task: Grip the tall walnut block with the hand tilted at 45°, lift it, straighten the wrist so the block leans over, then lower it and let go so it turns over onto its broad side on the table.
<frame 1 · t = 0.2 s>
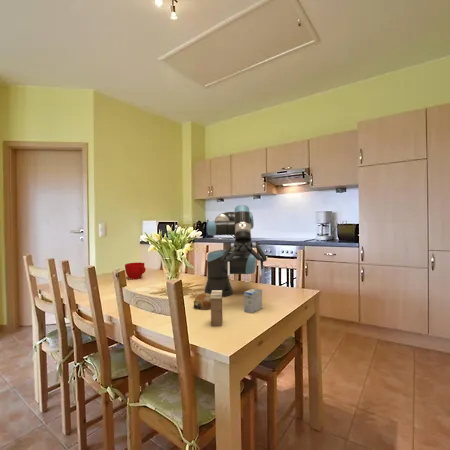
hand: (244, 276, 117), 15 cm above the table, tool tilted 35°, fingers open, 13 cm apart
bread roll: (204, 307, 125), on the table
medicine box: (253, 310, 120), on the table
ceramic cup: (137, 278, 188), on the table
walnut block: (217, 323, 105), on the table
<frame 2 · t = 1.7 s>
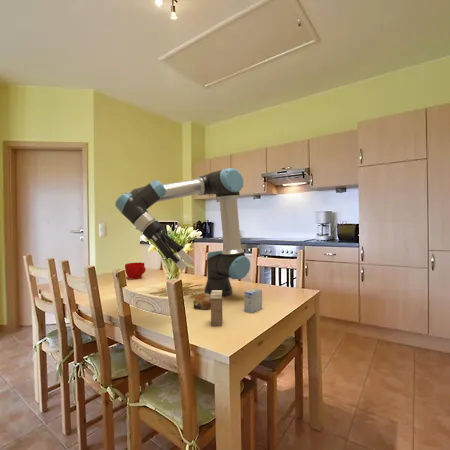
hand: (188, 265, 105), 23 cm above the table, tool tilted 45°, fingers open, 13 cm apart
nothing on the table moved.
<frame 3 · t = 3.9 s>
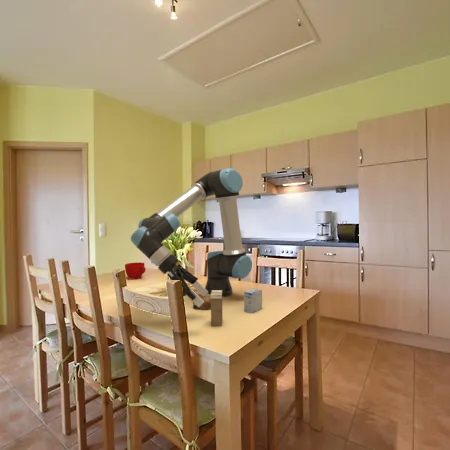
hand: (203, 299, 104), 10 cm above the table, tool tilted 45°, fingers open, 13 cm apart
nothing on the table moved.
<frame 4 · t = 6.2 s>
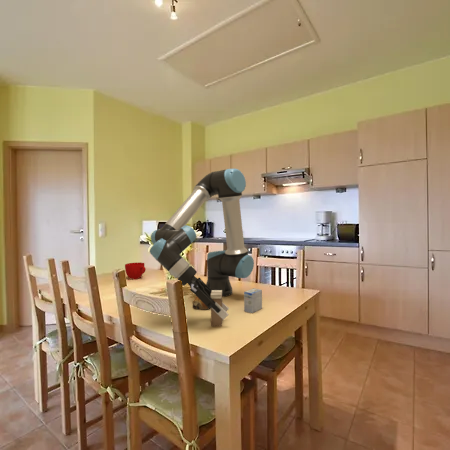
hand: (226, 313, 105), 4 cm above the table, tool tilted 45°, fingers closed on walnut block, 6 cm apart
walnut block: (217, 323, 105), on the table, touching gripper
everything else where it was.
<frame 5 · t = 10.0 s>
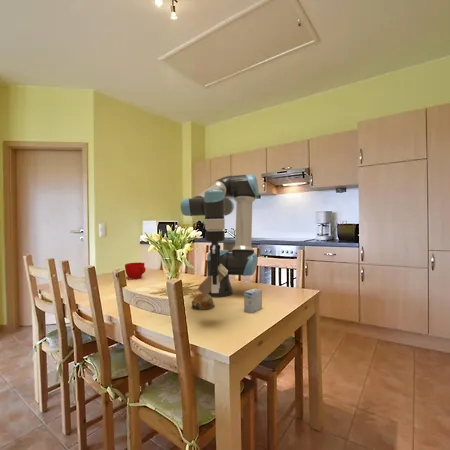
hand: (215, 290, 105), 13 cm above the table, tool pointing down, fingers closed on walnut block, 6 cm apart
walnut block: (202, 290, 105), point 13 cm above the table, tilted 45°, touching gripper
everything else where it was.
when the fingers open (3 cm above the table, at t = 12.1 s): walnut block drops 1 cm and tips over, point 2 cm above the table.
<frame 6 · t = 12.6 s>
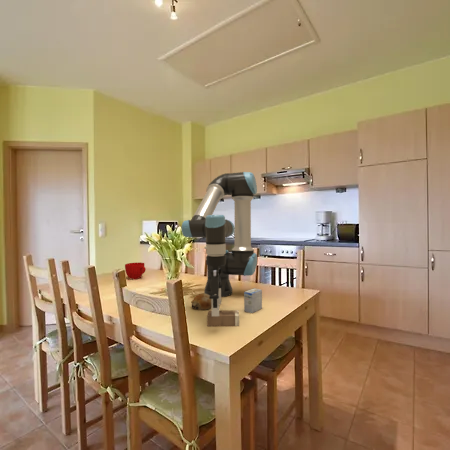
hand: (216, 309, 105), 5 cm above the table, tool pointing down, fingers open, 13 cm apart
walnut block: (207, 318, 105), point 2 cm above the table, tilted 90°
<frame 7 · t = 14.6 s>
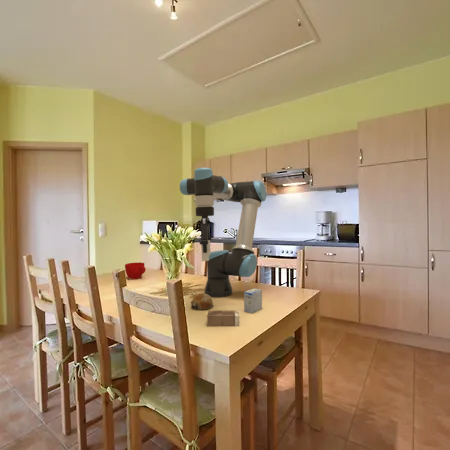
hand: (206, 257, 112), 24 cm above the table, tool pointing down, fingers open, 13 cm apart
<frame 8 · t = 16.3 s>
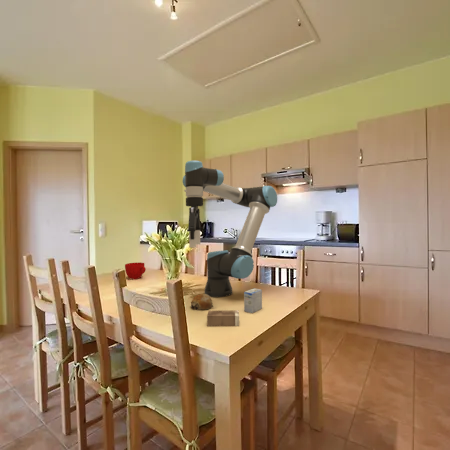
hand: (195, 245, 119), 29 cm above the table, tool pointing down, fingers open, 13 cm apart
at the end: walnut block tilted 90°; the gripper is holding nothing; walnut block inside the target area (2.5 cm from its centre), point 1.9 cm above the table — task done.
